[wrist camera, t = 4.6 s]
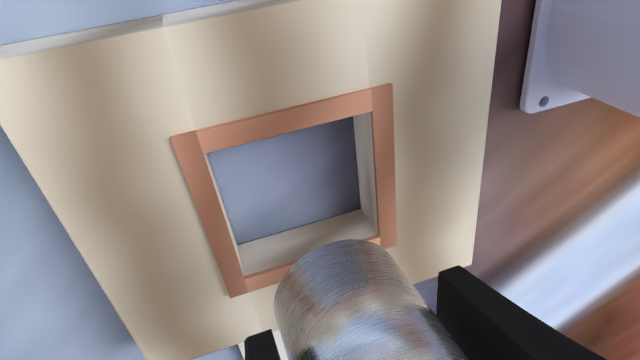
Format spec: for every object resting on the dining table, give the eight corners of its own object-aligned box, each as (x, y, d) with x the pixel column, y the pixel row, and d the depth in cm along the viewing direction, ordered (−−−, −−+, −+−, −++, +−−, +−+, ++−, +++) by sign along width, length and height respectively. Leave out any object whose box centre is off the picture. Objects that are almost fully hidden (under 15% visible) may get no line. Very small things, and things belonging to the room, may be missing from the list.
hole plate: (470, -45, 15) (510, -40, 13) (450, 240, 23) (474, 267, 21) (-9, 47, 12) (-39, 69, 10) (155, 335, 20) (154, 376, 18)
